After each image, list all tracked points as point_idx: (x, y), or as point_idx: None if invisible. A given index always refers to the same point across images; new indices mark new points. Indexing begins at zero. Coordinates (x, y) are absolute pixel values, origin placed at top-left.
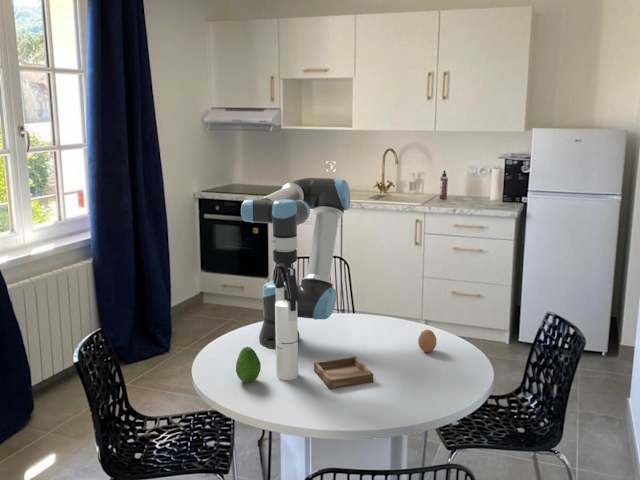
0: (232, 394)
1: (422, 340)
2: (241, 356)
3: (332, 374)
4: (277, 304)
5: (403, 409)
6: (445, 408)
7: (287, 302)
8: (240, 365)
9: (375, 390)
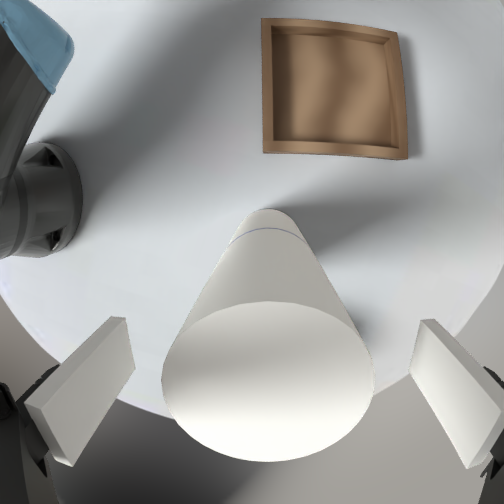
0: None
1: None
2: None
3: (324, 115)
4: (267, 452)
5: (500, 71)
6: (499, 15)
7: (459, 455)
8: None
9: (427, 61)
